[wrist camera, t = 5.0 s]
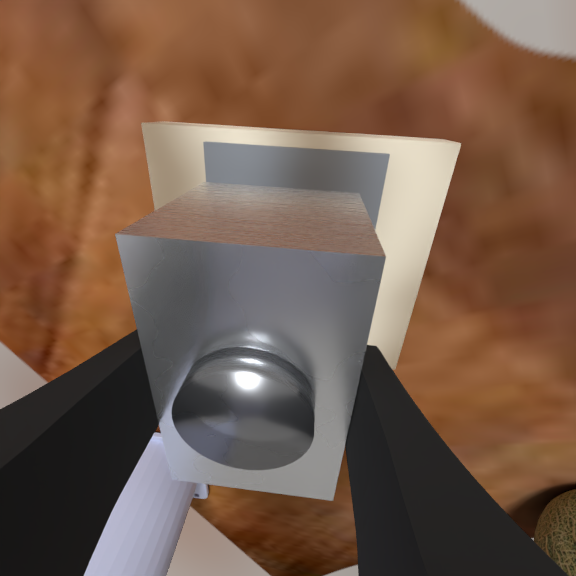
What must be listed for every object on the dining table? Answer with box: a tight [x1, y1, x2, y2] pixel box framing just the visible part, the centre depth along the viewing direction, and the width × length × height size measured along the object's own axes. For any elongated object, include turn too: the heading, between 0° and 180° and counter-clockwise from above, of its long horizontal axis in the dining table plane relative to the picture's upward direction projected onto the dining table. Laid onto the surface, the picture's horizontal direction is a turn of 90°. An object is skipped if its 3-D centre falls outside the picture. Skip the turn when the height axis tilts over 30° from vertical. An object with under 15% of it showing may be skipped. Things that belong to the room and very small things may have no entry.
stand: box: [141, 122, 461, 369], centre depth 15 cm, size 12×11×2 cm
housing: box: [115, 182, 386, 501], centre depth 10 cm, size 5×8×6 cm, turn 177°
